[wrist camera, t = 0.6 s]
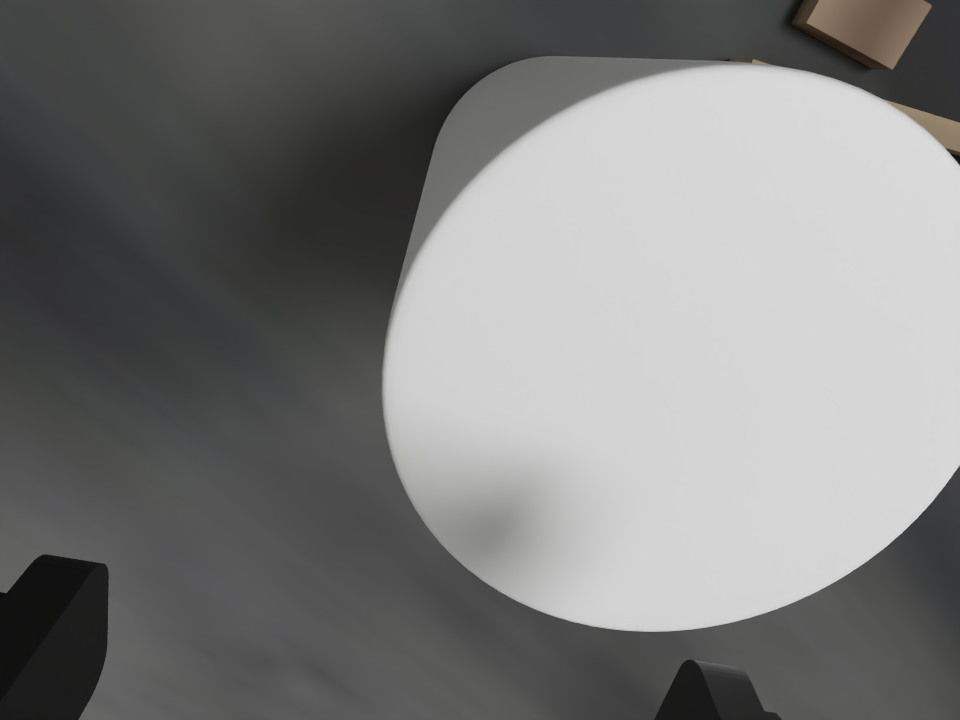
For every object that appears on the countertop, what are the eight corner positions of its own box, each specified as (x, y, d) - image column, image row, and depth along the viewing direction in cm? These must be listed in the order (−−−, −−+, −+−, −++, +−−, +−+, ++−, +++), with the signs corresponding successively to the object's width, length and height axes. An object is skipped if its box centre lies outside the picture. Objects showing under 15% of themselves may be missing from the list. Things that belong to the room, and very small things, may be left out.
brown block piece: (787, 24, 34) (806, 22, 32) (823, -39, 33) (844, -45, 31) (869, 69, 35) (892, 69, 33) (906, 8, 34) (932, 5, 32)
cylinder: (393, 242, 38) (293, 534, 15) (490, 9, 33) (559, -86, 10) (593, 328, 40) (773, 694, 17) (709, 123, 36) (1157, 248, 13)
